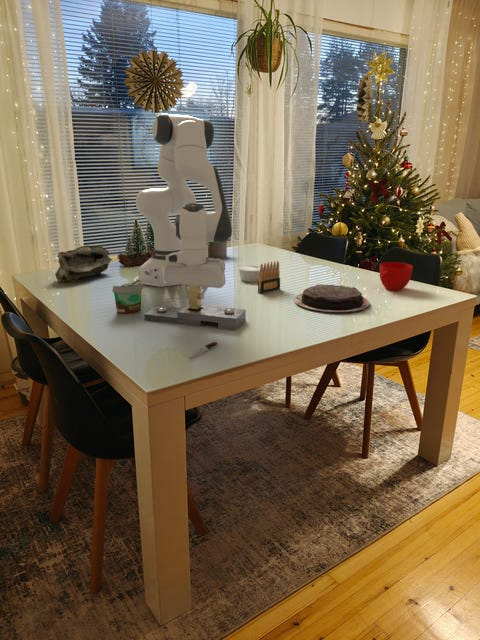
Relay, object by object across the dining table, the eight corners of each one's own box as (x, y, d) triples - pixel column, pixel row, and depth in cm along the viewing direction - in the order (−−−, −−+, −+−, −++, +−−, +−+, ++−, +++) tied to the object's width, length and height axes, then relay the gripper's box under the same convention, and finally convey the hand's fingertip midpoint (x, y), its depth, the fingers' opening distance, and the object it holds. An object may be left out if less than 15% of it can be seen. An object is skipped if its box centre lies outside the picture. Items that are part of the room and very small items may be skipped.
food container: (127, 317, 167) (125, 288, 164) (114, 314, 170) (111, 286, 167) (151, 308, 177) (150, 281, 174) (139, 305, 180) (137, 278, 177)
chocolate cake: (291, 293, 200) (291, 277, 198) (361, 294, 199) (362, 278, 197) (296, 314, 173) (297, 296, 171) (377, 316, 172) (379, 298, 170)
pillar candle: (206, 258, 261) (206, 229, 256) (210, 254, 270) (211, 226, 266) (224, 259, 260) (225, 230, 255) (228, 255, 269) (228, 227, 264)
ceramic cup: (366, 290, 203) (369, 266, 200) (386, 283, 214) (389, 260, 211) (396, 297, 194) (399, 272, 191) (415, 289, 206) (418, 265, 203)
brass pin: (189, 308, 162) (188, 284, 160) (192, 305, 165) (192, 282, 162) (197, 309, 161) (197, 285, 159) (201, 306, 164) (200, 283, 162)
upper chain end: (177, 323, 161) (177, 309, 160) (189, 314, 170) (189, 300, 169) (236, 330, 156) (236, 315, 154) (245, 321, 165) (245, 306, 163)
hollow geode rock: (108, 281, 232) (92, 255, 235) (121, 265, 225) (104, 238, 227) (57, 292, 210) (40, 263, 212) (69, 274, 203) (51, 245, 205)
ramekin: (265, 277, 223) (265, 265, 221) (263, 283, 213) (263, 271, 211) (240, 276, 224) (240, 264, 223) (237, 282, 214) (237, 270, 212)
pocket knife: (216, 345, 144) (217, 339, 144) (219, 346, 144) (219, 339, 143) (186, 360, 134) (186, 353, 133) (189, 361, 133) (188, 354, 132)
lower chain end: (144, 319, 165) (143, 311, 164) (158, 311, 174) (157, 303, 173) (200, 326, 159) (200, 317, 158) (211, 317, 168) (211, 308, 167)
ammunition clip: (260, 293, 197) (261, 264, 193) (257, 292, 198) (258, 263, 194) (280, 289, 203) (281, 260, 199) (277, 288, 204) (278, 259, 201)
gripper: (228, 256, 158) (228, 298, 162) (169, 252, 164) (170, 293, 168) (221, 260, 152) (221, 304, 156) (160, 256, 158) (162, 298, 162)
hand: (195, 298), depth 162 cm, fingers closed on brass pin, 3 cm apart
